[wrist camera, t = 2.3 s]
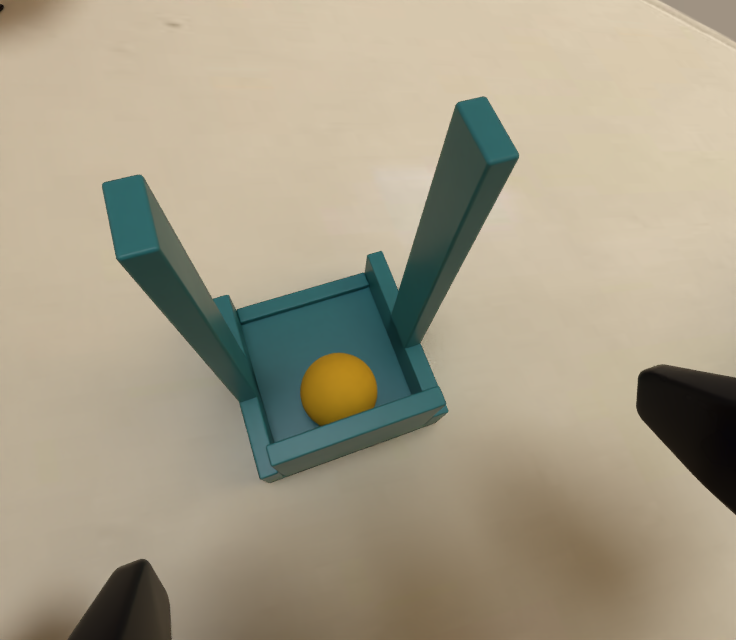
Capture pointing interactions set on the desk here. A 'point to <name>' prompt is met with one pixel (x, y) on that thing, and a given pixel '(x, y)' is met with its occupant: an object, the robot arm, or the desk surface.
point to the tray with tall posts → (326, 307)
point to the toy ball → (337, 388)
